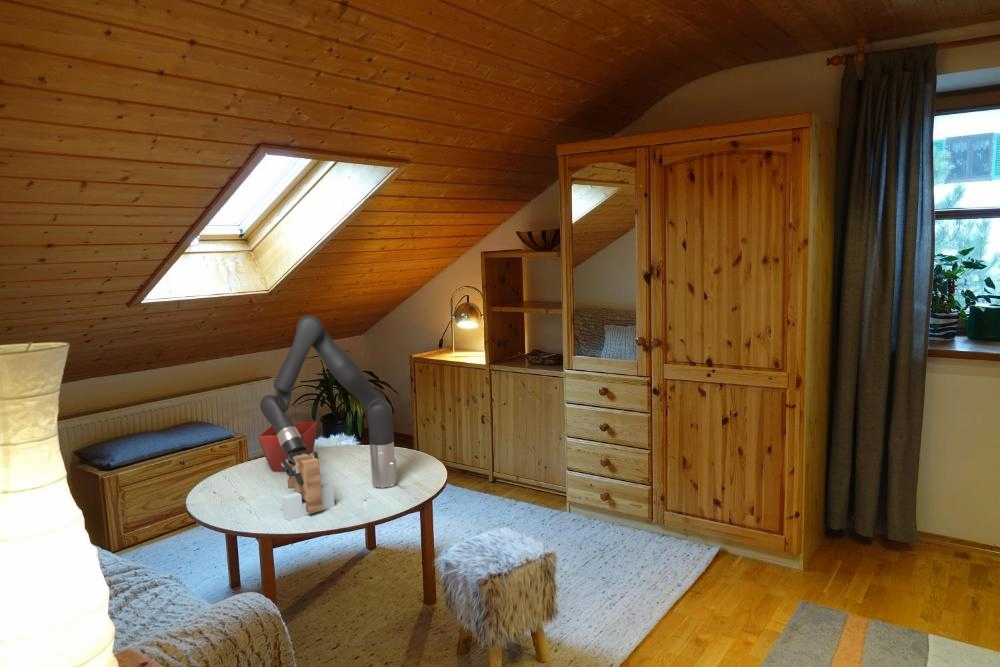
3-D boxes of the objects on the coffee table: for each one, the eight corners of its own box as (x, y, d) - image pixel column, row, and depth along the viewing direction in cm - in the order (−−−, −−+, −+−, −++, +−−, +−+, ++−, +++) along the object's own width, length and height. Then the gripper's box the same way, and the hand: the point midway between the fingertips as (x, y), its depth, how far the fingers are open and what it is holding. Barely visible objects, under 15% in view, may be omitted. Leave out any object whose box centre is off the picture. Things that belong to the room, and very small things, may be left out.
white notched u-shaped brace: (329, 503, 262) (328, 482, 261) (334, 506, 259) (333, 485, 258) (283, 518, 250) (282, 496, 248) (288, 521, 247) (286, 498, 246)
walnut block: (295, 505, 256) (292, 456, 253) (308, 501, 260) (305, 453, 257) (309, 512, 249) (305, 463, 246) (322, 508, 252) (319, 459, 250)
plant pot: (260, 475, 295) (257, 435, 293) (277, 460, 314) (274, 422, 312) (306, 474, 294) (303, 434, 292) (320, 459, 313) (317, 422, 311)
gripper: (275, 440, 251) (294, 481, 244) (312, 432, 261) (331, 471, 254) (269, 452, 256) (287, 492, 249) (306, 443, 265) (324, 481, 259)
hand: (309, 481), depth 251 cm, fingers closed on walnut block, 5 cm apart
